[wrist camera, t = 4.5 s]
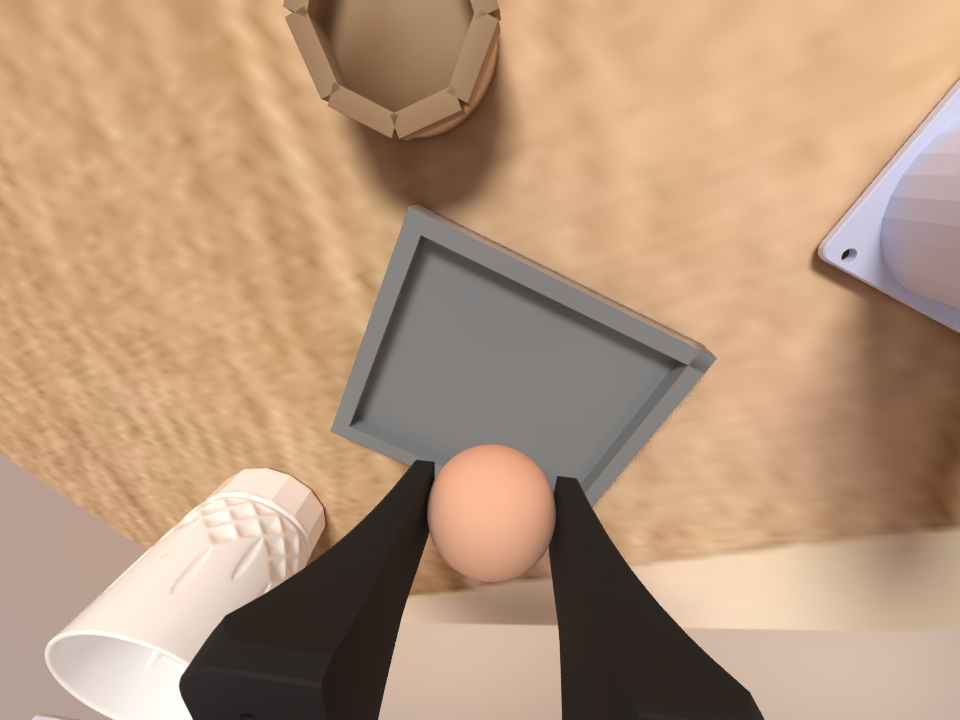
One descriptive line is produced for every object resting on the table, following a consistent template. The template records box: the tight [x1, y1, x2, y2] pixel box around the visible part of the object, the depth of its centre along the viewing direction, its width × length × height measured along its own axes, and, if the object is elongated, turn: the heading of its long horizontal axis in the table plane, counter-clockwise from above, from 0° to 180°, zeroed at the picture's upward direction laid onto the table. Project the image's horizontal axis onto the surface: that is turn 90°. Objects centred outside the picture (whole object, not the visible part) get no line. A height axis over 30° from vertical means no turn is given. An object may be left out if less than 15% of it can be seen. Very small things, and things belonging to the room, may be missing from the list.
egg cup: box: [283, 0, 501, 141], centre depth 13 cm, size 6×6×3 cm
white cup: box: [45, 468, 325, 720], centre depth 21 cm, size 8×8×10 cm
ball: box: [427, 444, 556, 582], centre depth 12 cm, size 4×4×4 cm
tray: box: [331, 204, 717, 507], centre depth 19 cm, size 14×12×1 cm
